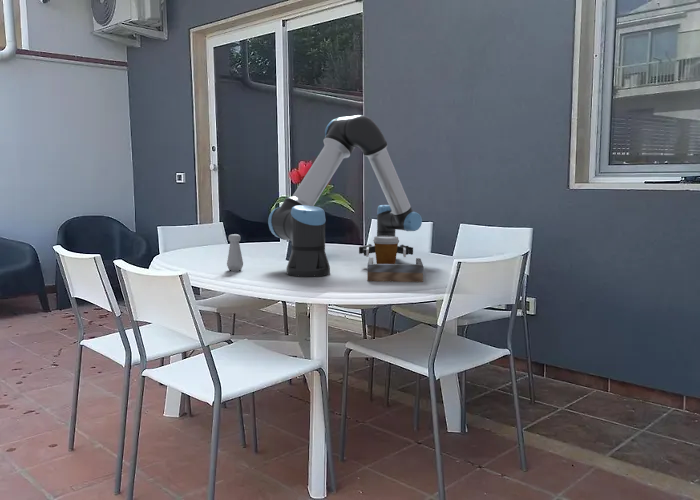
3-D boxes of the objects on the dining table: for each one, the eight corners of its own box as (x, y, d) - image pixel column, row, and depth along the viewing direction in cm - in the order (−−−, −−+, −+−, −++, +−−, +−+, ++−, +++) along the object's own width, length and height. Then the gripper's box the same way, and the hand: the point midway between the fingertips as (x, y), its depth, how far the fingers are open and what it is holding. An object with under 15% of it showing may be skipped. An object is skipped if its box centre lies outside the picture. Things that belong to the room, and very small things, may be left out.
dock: (367, 281, 196) (367, 264, 195) (368, 273, 212) (368, 257, 211) (422, 282, 195) (423, 265, 194) (420, 273, 211) (420, 258, 210)
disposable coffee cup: (397, 272, 214) (397, 238, 212) (370, 271, 216) (371, 238, 214) (400, 268, 223) (400, 236, 221) (375, 267, 225) (375, 235, 223)
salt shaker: (246, 269, 217) (246, 234, 215) (237, 272, 212) (236, 235, 210) (233, 268, 219) (232, 233, 218) (223, 271, 214) (222, 234, 213)
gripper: (417, 256, 236) (420, 264, 215) (354, 255, 237) (351, 263, 216) (417, 237, 235) (421, 243, 214) (354, 236, 237) (351, 242, 215)
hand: (386, 253), depth 215 cm, fingers open, 13 cm apart
